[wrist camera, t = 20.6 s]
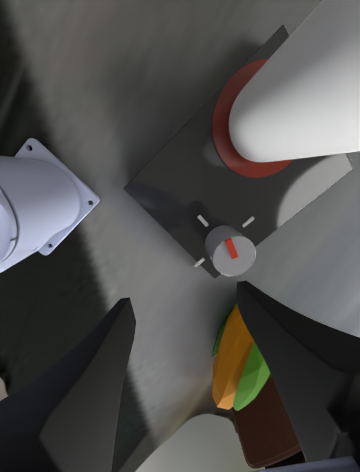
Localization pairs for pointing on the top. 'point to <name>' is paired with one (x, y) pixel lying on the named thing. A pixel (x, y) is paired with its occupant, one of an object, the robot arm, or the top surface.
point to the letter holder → (267, 431)
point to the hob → (226, 184)
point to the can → (305, 91)
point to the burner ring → (222, 127)
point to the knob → (230, 250)
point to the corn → (237, 364)
